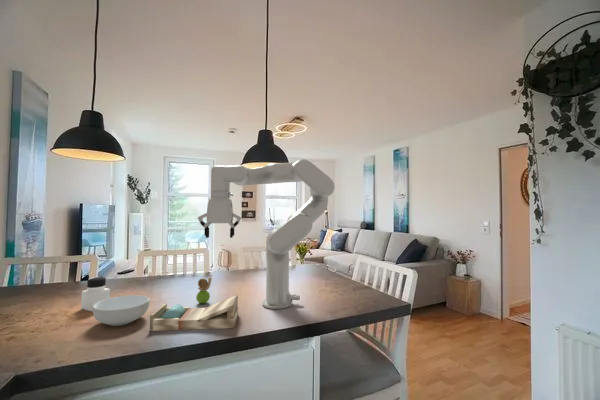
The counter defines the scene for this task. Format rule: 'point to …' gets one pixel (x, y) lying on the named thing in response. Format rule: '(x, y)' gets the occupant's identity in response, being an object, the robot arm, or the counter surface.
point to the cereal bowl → (120, 309)
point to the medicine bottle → (94, 293)
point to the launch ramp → (198, 317)
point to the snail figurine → (203, 290)
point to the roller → (174, 312)
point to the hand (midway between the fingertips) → (219, 237)
